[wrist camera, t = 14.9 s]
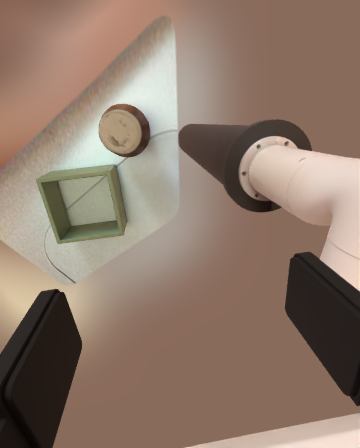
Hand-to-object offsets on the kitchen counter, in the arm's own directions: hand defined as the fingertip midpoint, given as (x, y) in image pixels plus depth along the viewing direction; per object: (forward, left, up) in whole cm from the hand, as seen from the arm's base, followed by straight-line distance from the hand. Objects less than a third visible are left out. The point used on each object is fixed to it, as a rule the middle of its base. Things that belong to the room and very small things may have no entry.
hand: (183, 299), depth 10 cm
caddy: (+13, +5, -36) cm, 39 cm away
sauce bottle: (+4, -6, -36) cm, 37 cm away
